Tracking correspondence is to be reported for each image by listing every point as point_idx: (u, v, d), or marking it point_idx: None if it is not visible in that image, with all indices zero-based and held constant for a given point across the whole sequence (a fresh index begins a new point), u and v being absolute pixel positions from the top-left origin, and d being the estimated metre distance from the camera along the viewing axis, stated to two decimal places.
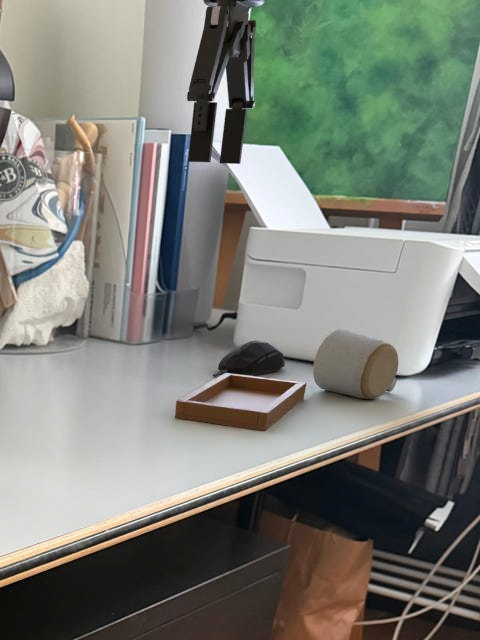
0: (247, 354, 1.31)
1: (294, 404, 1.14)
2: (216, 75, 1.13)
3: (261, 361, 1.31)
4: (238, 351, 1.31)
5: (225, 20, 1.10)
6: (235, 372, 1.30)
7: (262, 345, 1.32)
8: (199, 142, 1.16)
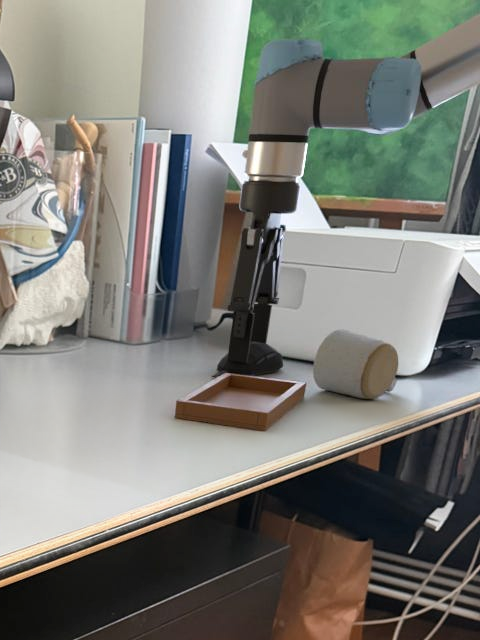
0: None
1: (294, 404, 1.14)
2: (253, 289, 1.24)
3: (260, 362, 1.30)
4: None
5: (260, 241, 1.21)
6: (234, 373, 1.30)
7: (260, 346, 1.32)
8: (238, 345, 1.28)
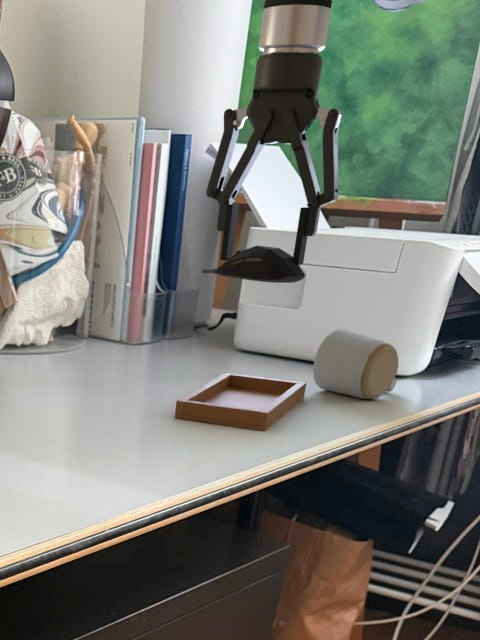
0: (236, 255, 1.20)
1: (294, 404, 1.14)
2: None
3: (236, 264, 1.18)
4: (237, 252, 1.21)
5: (227, 123, 1.14)
6: None
7: (257, 249, 1.17)
8: None
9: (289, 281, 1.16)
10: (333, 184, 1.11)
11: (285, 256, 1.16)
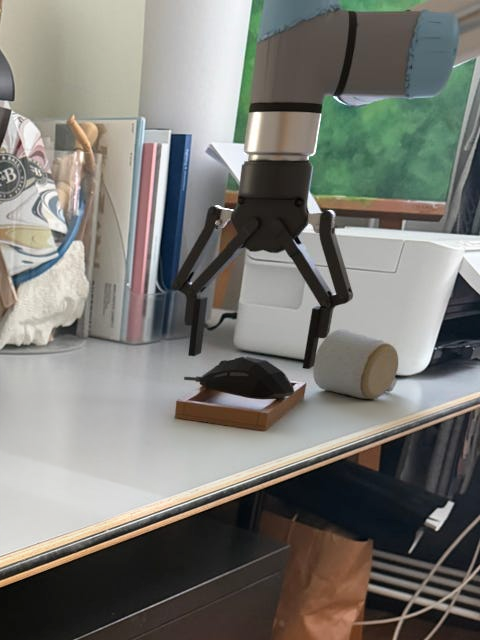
0: (220, 366, 1.12)
1: (294, 404, 1.14)
2: None
3: (220, 377, 1.10)
4: (221, 361, 1.13)
5: (209, 220, 1.06)
6: None
7: (243, 362, 1.09)
8: None
9: (277, 398, 1.08)
10: (345, 285, 1.02)
11: (272, 371, 1.08)
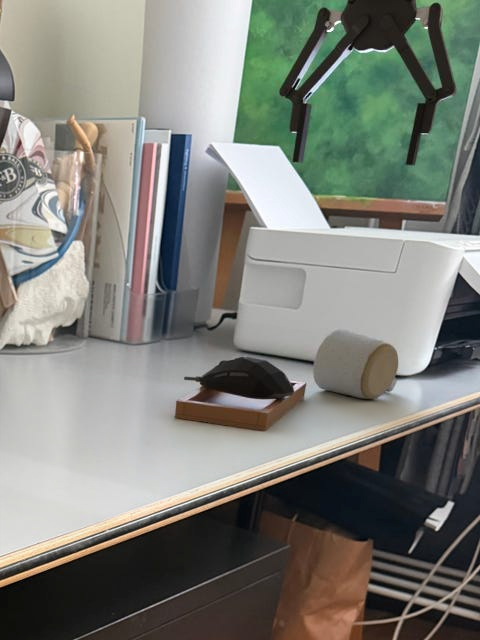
0: (220, 366, 1.12)
1: (294, 404, 1.14)
2: (310, 76, 1.14)
3: (220, 377, 1.10)
4: (221, 361, 1.13)
5: (319, 22, 1.12)
6: None
7: (243, 362, 1.09)
8: None
9: (277, 398, 1.08)
10: (451, 76, 1.08)
11: (272, 371, 1.08)
